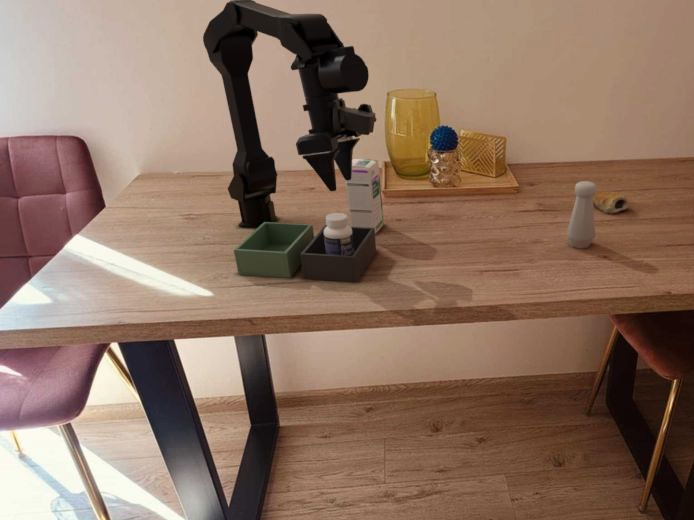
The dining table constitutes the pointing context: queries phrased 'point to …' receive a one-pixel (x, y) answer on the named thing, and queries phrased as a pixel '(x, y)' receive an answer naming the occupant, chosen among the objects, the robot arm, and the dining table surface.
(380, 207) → the syrup box
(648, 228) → the dining table surface
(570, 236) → the salt shaker
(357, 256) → the charcoal crate
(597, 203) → the pastry
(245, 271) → the green bin
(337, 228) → the pill bottle
